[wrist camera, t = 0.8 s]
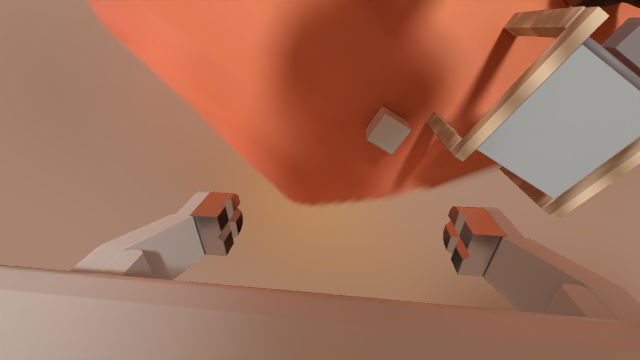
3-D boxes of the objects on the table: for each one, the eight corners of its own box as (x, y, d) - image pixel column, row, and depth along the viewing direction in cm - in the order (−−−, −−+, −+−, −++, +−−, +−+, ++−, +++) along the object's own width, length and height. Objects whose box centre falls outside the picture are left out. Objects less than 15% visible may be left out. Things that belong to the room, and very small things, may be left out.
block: (382, 105, 43) (385, 113, 39) (405, 120, 44) (411, 130, 40) (365, 129, 46) (366, 139, 41) (388, 143, 47) (391, 154, 42)
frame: (515, 12, 35) (596, 4, 23) (608, 85, 38) (719, 110, 27) (425, 122, 44) (452, 155, 32) (507, 173, 47) (558, 220, 36)
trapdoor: (607, -1, 25) (627, -3, 24) (696, 76, 28) (719, 79, 26) (469, 142, 34) (475, 148, 32) (545, 191, 37) (555, 200, 35)
